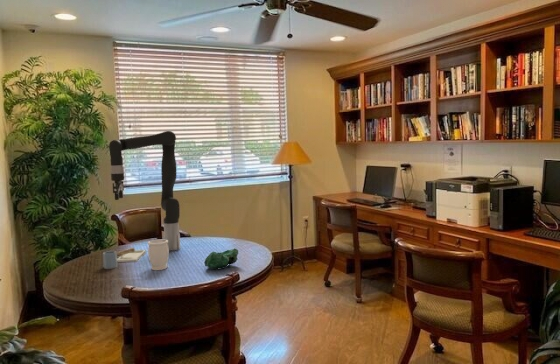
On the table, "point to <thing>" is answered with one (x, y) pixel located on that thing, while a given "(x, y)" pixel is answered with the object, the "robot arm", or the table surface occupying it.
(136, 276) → the table surface
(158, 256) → the jar
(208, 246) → the table surface
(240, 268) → the table surface
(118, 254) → the pin
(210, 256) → the mineral
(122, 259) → the tray
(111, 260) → the cup
